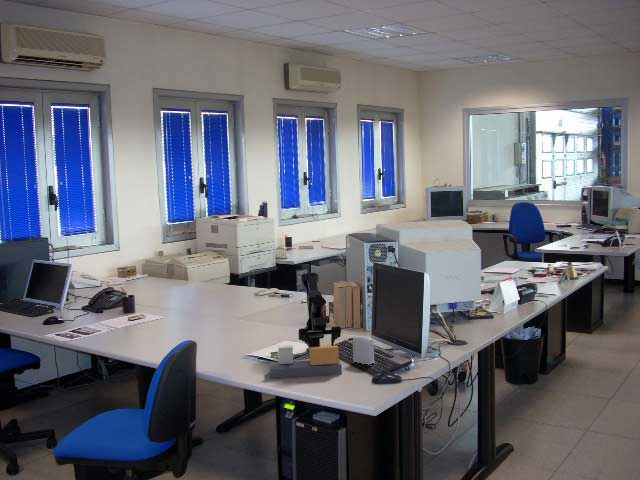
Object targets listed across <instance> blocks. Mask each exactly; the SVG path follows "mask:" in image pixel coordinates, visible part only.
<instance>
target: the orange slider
mask: <svg viewBox="0 0 640 480" xmlns="http://www.w3.org/2000/svg"><path fill="white" fill-rule="evenodd" d="M309 351H310V352H309ZM309 351H308V352H309V360H310V365H323V364H338V363H339V361H340V359H339V346H338V345H333V346H331V345H328V346H327V345H325V346H323V345H322V346H320V347H309Z"/></svg>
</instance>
